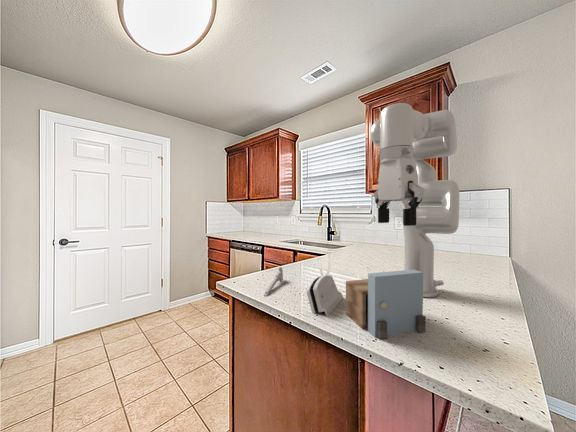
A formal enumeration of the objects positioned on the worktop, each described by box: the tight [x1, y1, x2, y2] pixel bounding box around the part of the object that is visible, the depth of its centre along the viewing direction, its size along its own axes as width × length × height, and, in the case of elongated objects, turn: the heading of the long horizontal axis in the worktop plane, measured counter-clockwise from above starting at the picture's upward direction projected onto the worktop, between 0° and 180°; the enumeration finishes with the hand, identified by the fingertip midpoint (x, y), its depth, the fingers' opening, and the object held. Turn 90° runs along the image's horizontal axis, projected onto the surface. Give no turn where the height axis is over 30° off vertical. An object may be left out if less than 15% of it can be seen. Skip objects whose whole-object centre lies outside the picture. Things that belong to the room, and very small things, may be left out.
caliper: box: [263, 266, 284, 297], centre depth 96 cm, size 20×1×6 cm, turn 164°
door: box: [367, 269, 424, 338], centre depth 61 cm, size 4×14×15 cm, turn 104°
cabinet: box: [345, 278, 427, 340], centre depth 66 cm, size 14×16×10 cm
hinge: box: [306, 275, 344, 317], centre depth 79 cm, size 17×5×10 cm, turn 151°
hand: (395, 224), depth 61 cm, fingers open, 9 cm apart
